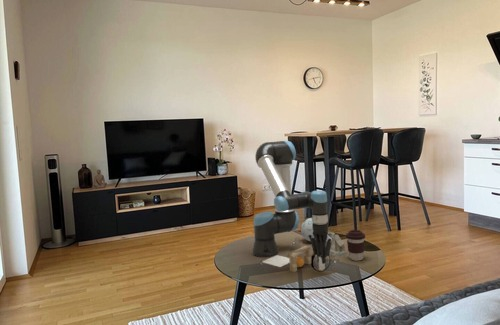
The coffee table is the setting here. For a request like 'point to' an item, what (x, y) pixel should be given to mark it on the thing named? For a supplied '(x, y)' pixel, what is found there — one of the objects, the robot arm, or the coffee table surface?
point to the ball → (300, 261)
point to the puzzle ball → (307, 229)
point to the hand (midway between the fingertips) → (322, 269)
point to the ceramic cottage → (336, 246)
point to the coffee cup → (355, 244)
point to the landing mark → (277, 261)
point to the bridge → (293, 254)
